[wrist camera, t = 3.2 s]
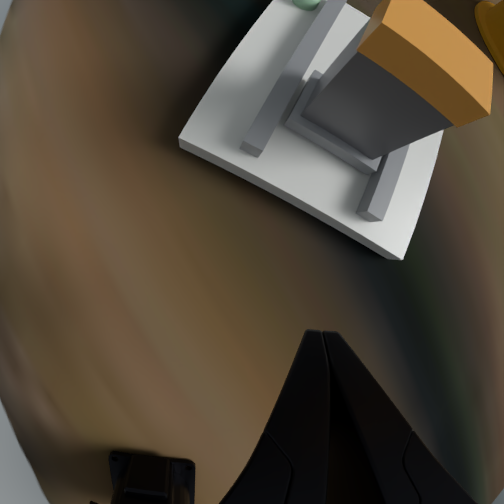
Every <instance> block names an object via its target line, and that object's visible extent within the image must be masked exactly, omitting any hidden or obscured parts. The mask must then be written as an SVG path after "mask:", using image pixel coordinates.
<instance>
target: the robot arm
mask: <svg viewBox="0 0 504 504" xmlns="http://www.w3.org/2000/svg"><path fill="white" fill-rule="evenodd" d="M113 456H115V457H117V458H114V457H113ZM109 465H110V472H111V478H112V484H113V489H114V492H113V496H112V500H111V504H194V496H195V463H194V462H193V461H191V460H181V459H169V458H160V457H151V456H143V455H136V454H129V453H123V452H117V451H112V452H110V454H109ZM186 466H191V467H186ZM90 504H98V503H95V502H93V501H90ZM219 504H478V503H477V502H476V501H475V500H474V499H473V498H472V497H471V496H470V495H469V494H468V493H467V492H466V491H465V490H464V489H463V488H462V487H461V485H460V484H459V483H458V482H457V481H456V480H455V479H454V478H453V477H452V476H451V475H450V474H449V473H448V472H447V471H446V469H445V468H444V467H443V466H442V465H441V464H440V463H439V462H438V460H437V459H436V458H435V457H434V456H433V455H432V453H431V452H430V451H429V449H428V448H427V447H426V446H425V444H424V443H423V442H422V441H421V439H420V438H419V436H418V435H417V434H416V432H415V431H412V427H411V426H410V425H409V423H408V422H407V421H406V419H405V418H404V417H403V415H402V414H401V413H400V411H399V410H398V409H397V407H396V406H395V405H394V403H393V402H392V401H391V400H390V398H389V397H388V396H387V394H386V393H385V392H384V390H383V389H382V388H381V386H380V385H379V384H378V382H377V381H376V380H375V379H374V377H373V376H372V375H371V373H370V372H369V371H368V369H367V368H366V367H365V365H364V364H363V363H362V362H361V360H360V359H359V358H358V356H357V355H356V354H355V353H354V351H353V350H352V349H351V347H350V346H349V345H348V344H347V342H346V341H345V340H344V338H343V337H342V336H341V335H340V333H338V332H336V331H323V332H321V331H320V330H310V329H307V330H306V331H305V333H304V335H303V338H302V340H301V343H300V346H299V348H298V351H297V353H296V356H295V358H294V361H293V363H292V366H291V368H290V370H289V373H288V375H287V378H286V380H285V383H284V385H283V387H282V390H281V392H280V394H279V397H278V399H277V401H276V404H275V406H274V408H273V411H272V413H271V415H270V417H269V420H268V422H267V424H266V426H265V428H264V431H263V433H262V435H261V437H260V439H259V441H258V443H257V445H256V447H255V449H254V451H253V453H252V455H251V457H250V459H249V461H248V462H247V464H246V466H245V468H244V469H243V471H242V472H241V474H240V475H239V477H238V478H237V480H236V481H235V483H234V484H233V485H232V487H231V488H230V490H229V491H228V492H227V494H226V495H225V496H224V498H223V499H222V500H221V501H220V503H219Z"/></svg>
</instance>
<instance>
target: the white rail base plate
mask: <svg viewBox="0 0 504 504" xmlns="http://www.w3.org/2000/svg"><path fill="white" fill-rule="evenodd" d="M346 1H347V0H273V1H272V2H271V3H270V5H269V6H268V7H267V8H266V10H265V11H264V12H263V13H262V15H261V16H260V17H259V18H258V20H257V21H256V22H255V24H254V25H253V26H252V28H251V29H250V30H249V32H248V33H247V34H246V36H245V37H244V38H243V40H242V41H241V42H240V44H239V45H238V46H237V48H236V49H235V51H234V52H233V53H232V55H231V56H230V58H229V59H228V61H227V62H226V63H225V65H224V66H223V68H222V69H221V71H220V72H219V74H218V75H217V77H216V78H215V80H214V81H213V83H212V84H211V86H210V87H209V89H208V90H207V92H206V93H205V95H204V96H203V98H202V99H201V101H200V103H199V104H198V106H197V107H196V109H195V111H194V112H193V114H192V115H191V117H190V119H189V120H188V122H187V124H186V125H185V127H184V129H183V130H182V132H181V134H180V135H179V137H178V139H179V145H180V148H182V149H184V150H186V151H188V152H191V153H193V154H195V155H197V156H199V157H201V158H203V159H205V160H207V161H209V162H211V163H213V164H215V165H217V166H219V167H221V168H223V169H225V170H227V171H229V172H231V173H233V174H235V175H237V176H239V177H241V178H243V179H245V180H247V181H249V182H251V183H253V184H255V185H256V186H258V187H260V188H262V189H264V190H266V191H268V192H270V193H272V194H274V195H275V196H277V197H279V198H281V199H283V200H285V201H287V202H288V203H290V204H292V205H294V206H296V207H298V208H299V209H301V210H303V211H305V212H307V213H309V214H310V215H312V216H314V217H316V218H318V219H319V220H321V221H323V222H325V223H326V224H328V225H330V226H332V227H333V228H335V229H337V230H339V231H340V232H342V233H344V234H346V235H347V236H349V237H351V238H353V239H354V240H356V241H358V242H359V243H361V244H363V245H364V246H366V247H368V248H370V249H371V250H373V251H375V252H376V253H378V254H380V255H381V256H383V257H385V258H386V259H395V260H403V257H404V255H405V252H406V250H407V247H408V244H409V242H410V239H411V236H412V233H413V231H414V228H415V225H416V222H417V219H418V216H419V213H420V210H421V207H422V204H423V201H424V198H425V195H426V192H427V189H428V185H429V182H430V179H431V175H432V172H433V168H434V165H435V161H436V157H437V154H438V150H439V146H440V142H441V138H442V134H443V130H444V129H443V130H441V131H439V132H436V133H434V134H432V135H429V136H427V137H424V138H422V139H420V140H417V141H415V142H413V143H410V144H408V145H406V146H404V147H401V148H399V149H397V150H394V151H392V152H390V153H387V154H385V155H383V156H382V158H381V160H380V163H379V166H378V168H377V171H376V172H373V173H371V174H368V175H366V174H364V173H363V172H361V171H360V170H358V169H357V168H355V167H353V166H352V165H350V164H349V163H347V162H346V161H344V160H342V159H341V158H339V157H338V156H336V155H334V154H333V153H331V152H329V151H328V150H326V149H324V148H323V147H321V146H319V145H318V144H316V143H314V142H312V141H311V140H309V139H307V138H305V137H304V136H302V135H300V134H298V133H297V132H295V131H293V130H291V129H289V128H288V127H286V126H284V123H285V121H286V119H287V117H288V115H289V114H290V112H291V110H292V108H293V106H294V104H295V102H296V100H297V99H298V97H299V95H300V93H301V91H302V89H303V87H304V85H305V84H306V82H307V80H308V78H309V77H310V75H311V74H312V73H313V71H314V70H317V71H318V72H320V73H322V74H324V72H325V71H326V70H327V69H328V68H329V66H330V65H331V64H332V63H333V62H334V60H335V59H336V58H337V57H338V56H339V54H340V53H341V52H342V51H343V50H344V48H345V47H346V46H347V45H348V44H349V42H350V41H351V40H352V39H353V38H354V37H355V35H356V34H357V33H358V32H359V31H360V30H361V28H362V27H363V26H364V25H365V24H366V23H367V21H368V20H369V19H370V17H368V16H366V15H365V14H363V13H362V12H360V11H358V10H357V9H355V8H353V7H352V6H350V5H348V4H346Z"/></svg>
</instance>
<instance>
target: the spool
mask: <svg viewBox="0 0 504 504" xmlns="http://www.w3.org/2000/svg"><path fill="white" fill-rule="evenodd" d="M475 19H476V23H477V25H478V28H479V31H480V33H481V36H482V38H483V40H484V42H485V44H486V46H487V48H488V50H489V52H490V53H491V55H492V57H493V59H494V60H495V62H496V64H497V66H498V67H499V69H500V70H501V72H502V74H503V75H504V0H502V1H501V2H499V3H498V4H496V5H494V4H493V3H490V2H488V1H481V2H479V3H478V4H477V5H476V6H475Z"/></svg>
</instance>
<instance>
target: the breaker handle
mask: <svg viewBox="0 0 504 504" xmlns="http://www.w3.org/2000/svg"><path fill="white" fill-rule="evenodd" d="M492 83H493V63H492V62H491V61H490V60H489V59H488V57H487V56H486V55H485V54H484V53H483V52H482V51H481V50H480V49H479V48H478V47H477V46H476V45H475V44H474V43H472V42H471V41H470V40H469V39H468V38H467V37H466V36H465V35H464V34H463V33H462V32H461V31H460V30H458V29H457V28H456V27H455V26H454V25H453V24H452V23H450V22H449V21H448V20H447V19H446V18H445V17H443V16H442V15H441V14H440V13H438V12H437V11H436V10H435V9H433V8H432V7H431V6H430V5H428V4H427V3H426V2H424V1H423V0H382V1H381V3H380V4H379V5H378V6H377V7H376V8H375V11H374V13H373V15H372V17H371V18H370V19H369V20H368V21H367V23H366V24H365V25H364V26H363V27H362V28H361V30H360V31H359V32H358V33H357V34H356V35H355V37H354V38H353V39H352V40H351V41H350V42H349V44H348V45H347V46H346V47H345V48H344V50H343V51H342V52H341V53H340V54H339V56H338V57H337V58H336V59H335V60H334V62H333V63H332V64H331V65H330V66H329V68H328V69H327V70H326V71H325V72H324V74H322V73H320V72H318V71H317V70H314V71H313V73H312V74H311V75H310V77H309V78H308V80H307V82H306V84H305V85H304V87H303V89H302V91H301V93H300V95H299V97H298V99H297V100H296V102H295V104H294V106H293V108H292V110H291V112H290V114H289V115H288V117H287V119H286V121H285V123H284V126H286V127H288V128H289V129H291V130H293V131H295V132H297V133H298V134H300V135H302V136H304V137H305V138H307V139H309V140H311V141H312V142H314V143H316V144H318V145H319V146H321V147H323V148H324V149H326V150H328V151H329V152H331V153H333V154H334V155H336V156H338V157H339V158H341V159H342V160H344V161H346V162H347V163H349V164H350V165H352V166H353V167H355V168H357V169H358V170H360V171H361V172H363V173H364V174H366V175H368V174H371V173H373V172H376V171H377V168H378V166H379V163H380V160H381V158H382V156H383V155H385V154H387V153H390V152H392V151H394V150H397V149H399V148H401V147H404V146H406V145H408V144H410V143H413V142H415V141H417V140H420V139H422V138H424V137H427V136H429V135H432V134H434V133H436V132H439V131H441V130H443V129H446V128H448V127H451V126H453V125H455V126H456V127H460V126H462V125H465V124H467V123H470V122H472V121H475V120H477V119H480V118H483V117H485V116H488V115H490V110H491V98H492Z"/></svg>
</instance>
